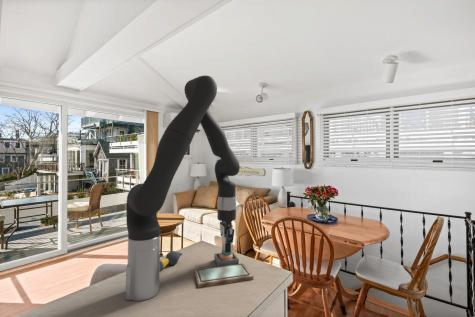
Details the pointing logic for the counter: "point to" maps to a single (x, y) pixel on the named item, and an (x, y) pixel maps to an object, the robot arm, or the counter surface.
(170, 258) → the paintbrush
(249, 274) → the framed mirror
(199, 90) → the robot arm
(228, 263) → the button housing
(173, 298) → the counter surface
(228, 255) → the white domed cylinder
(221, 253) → the button
